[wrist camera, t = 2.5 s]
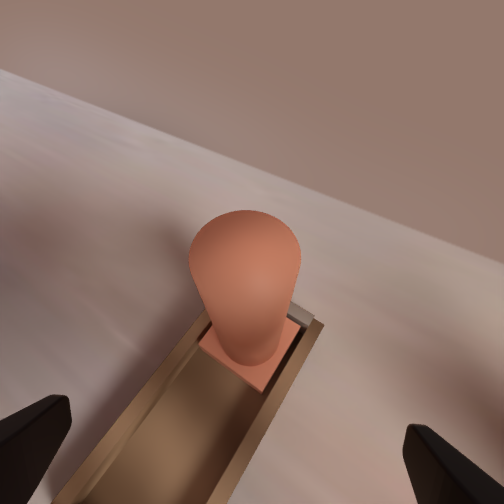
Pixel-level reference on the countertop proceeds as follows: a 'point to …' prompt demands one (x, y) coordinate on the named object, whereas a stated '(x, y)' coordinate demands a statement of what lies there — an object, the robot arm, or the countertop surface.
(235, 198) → the countertop surface
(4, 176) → the countertop surface
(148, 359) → the countertop surface
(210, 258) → the slider knob
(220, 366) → the track
